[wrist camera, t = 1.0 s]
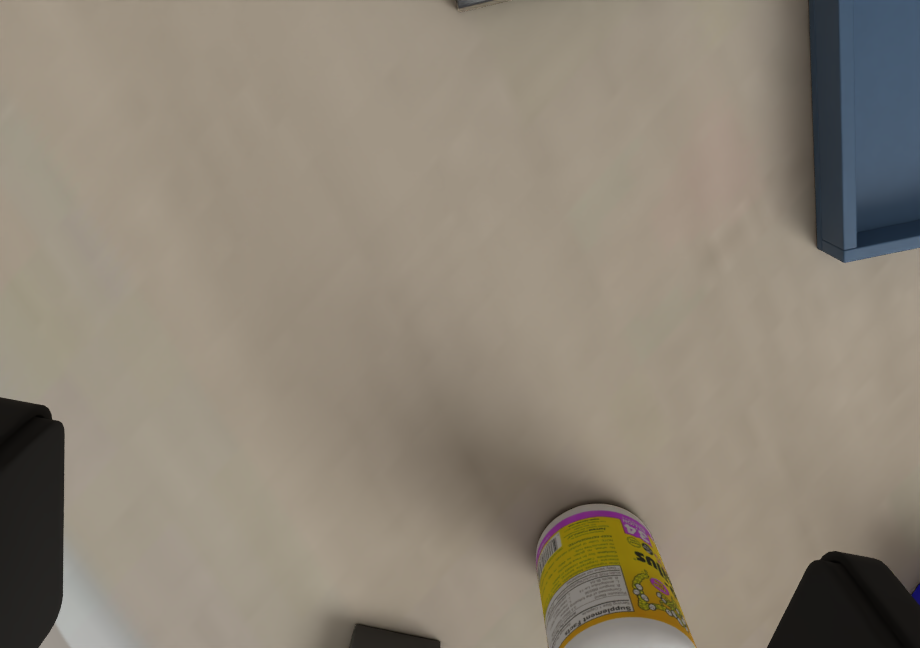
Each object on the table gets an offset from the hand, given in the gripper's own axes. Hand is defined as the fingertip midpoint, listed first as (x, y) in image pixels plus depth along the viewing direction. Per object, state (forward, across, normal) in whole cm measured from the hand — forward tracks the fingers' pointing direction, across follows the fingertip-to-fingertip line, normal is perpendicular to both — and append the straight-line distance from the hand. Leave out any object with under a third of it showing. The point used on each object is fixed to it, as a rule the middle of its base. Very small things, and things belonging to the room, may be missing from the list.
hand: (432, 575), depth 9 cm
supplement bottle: (+25, -12, +18) cm, 33 cm away
